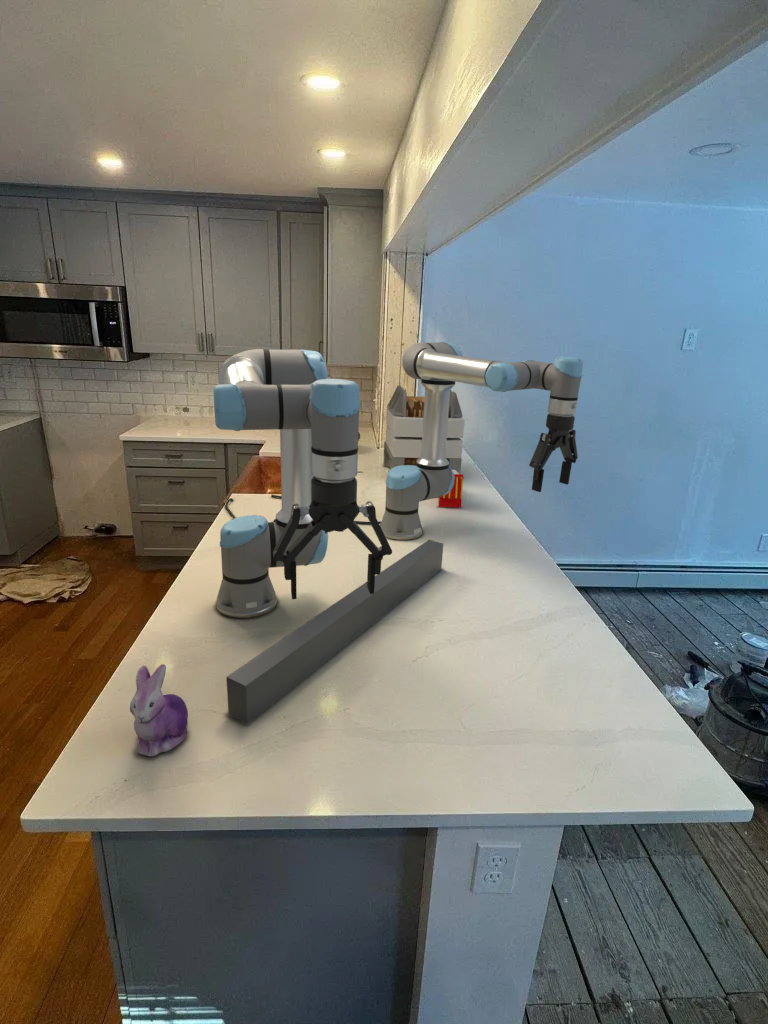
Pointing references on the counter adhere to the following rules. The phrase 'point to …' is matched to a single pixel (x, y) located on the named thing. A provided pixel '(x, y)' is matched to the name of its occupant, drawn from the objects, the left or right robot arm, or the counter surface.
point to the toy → (453, 493)
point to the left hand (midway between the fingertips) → (332, 592)
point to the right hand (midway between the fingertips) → (550, 487)
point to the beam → (326, 634)
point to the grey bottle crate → (418, 430)
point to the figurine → (157, 714)
